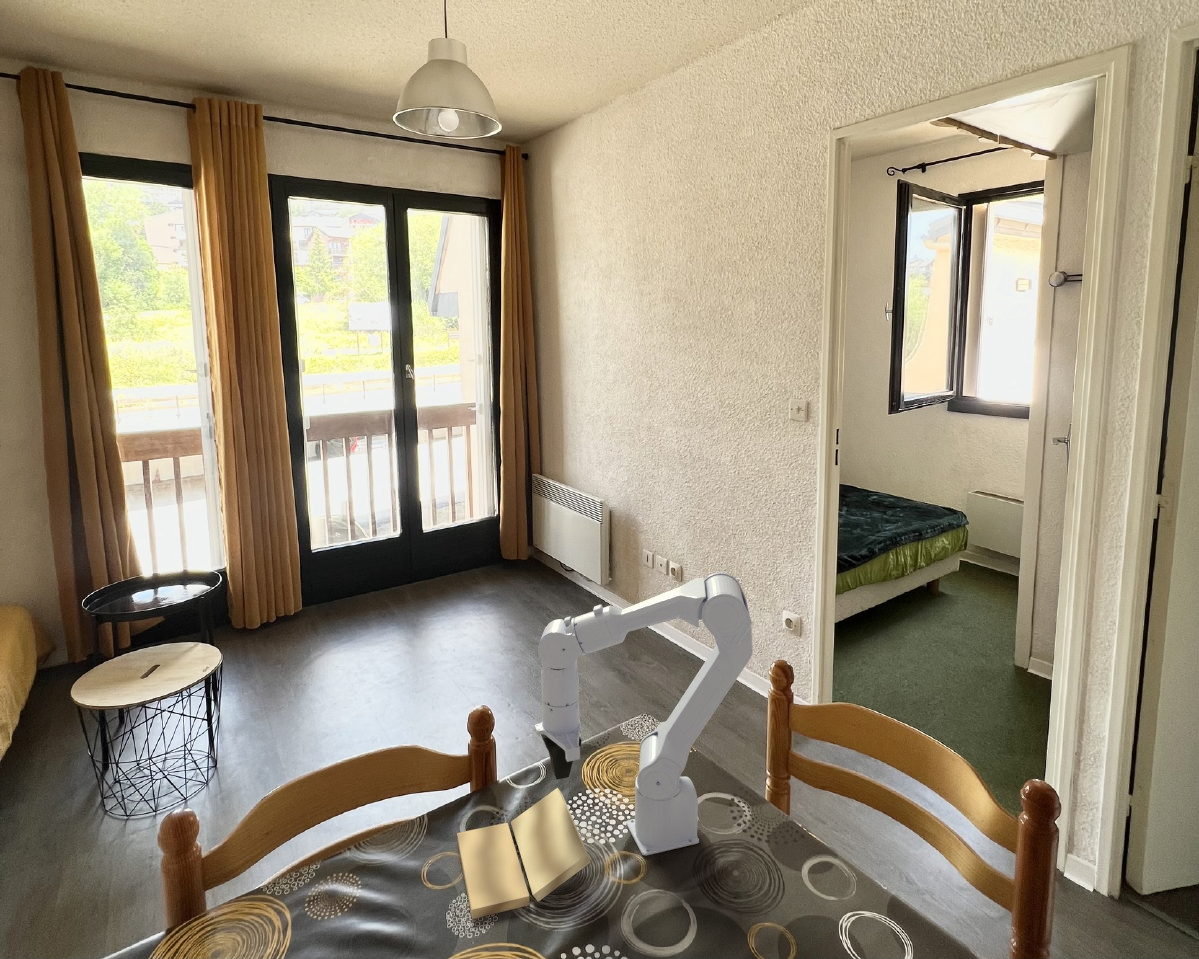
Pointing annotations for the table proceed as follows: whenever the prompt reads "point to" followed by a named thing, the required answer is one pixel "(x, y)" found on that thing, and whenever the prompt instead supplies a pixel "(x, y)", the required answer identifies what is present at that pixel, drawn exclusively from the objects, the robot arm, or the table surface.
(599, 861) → the table surface
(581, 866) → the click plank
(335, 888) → the table surface
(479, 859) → the laid oak board
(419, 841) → the table surface
